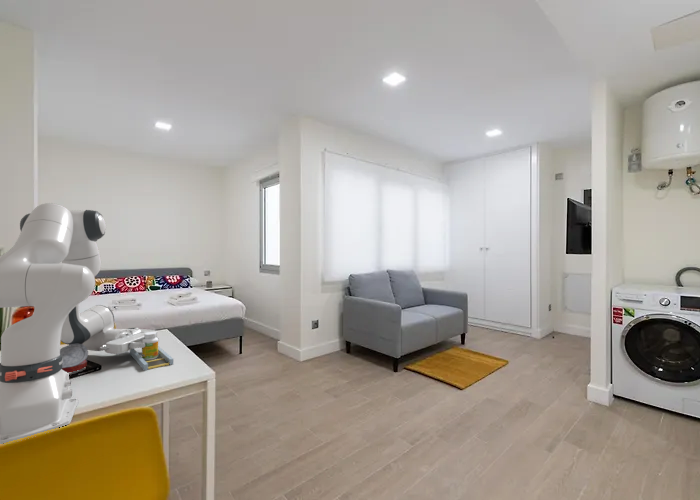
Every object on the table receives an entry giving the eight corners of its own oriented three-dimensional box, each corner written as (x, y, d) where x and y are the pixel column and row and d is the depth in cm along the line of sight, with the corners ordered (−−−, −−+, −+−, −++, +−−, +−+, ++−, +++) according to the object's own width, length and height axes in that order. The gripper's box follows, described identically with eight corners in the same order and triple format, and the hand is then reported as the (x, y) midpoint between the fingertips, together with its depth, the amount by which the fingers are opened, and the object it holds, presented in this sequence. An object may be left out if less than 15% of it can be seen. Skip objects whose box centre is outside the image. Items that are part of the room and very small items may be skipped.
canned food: (87, 380, 117) (101, 356, 117) (57, 388, 107) (72, 363, 107) (66, 361, 119) (80, 338, 119) (35, 368, 109) (50, 343, 109)
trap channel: (173, 364, 121) (173, 358, 121) (144, 370, 115) (144, 364, 115) (156, 348, 138) (156, 344, 138) (129, 353, 132) (129, 348, 132)
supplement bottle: (144, 361, 123) (144, 335, 123) (140, 357, 127) (140, 333, 127) (160, 357, 127) (160, 333, 127) (155, 354, 131) (155, 330, 131)
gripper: (96, 340, 118) (131, 342, 117) (138, 326, 139) (168, 327, 137) (95, 357, 118) (131, 359, 117) (138, 341, 139) (168, 342, 137)
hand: (151, 342), depth 127 cm, fingers closed on supplement bottle, 5 cm apart
